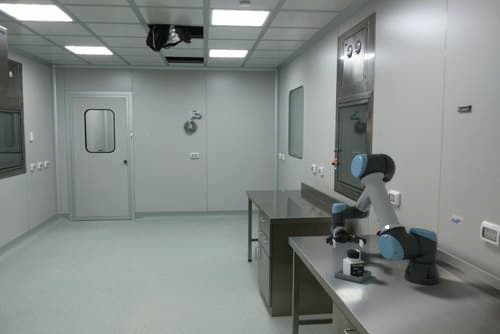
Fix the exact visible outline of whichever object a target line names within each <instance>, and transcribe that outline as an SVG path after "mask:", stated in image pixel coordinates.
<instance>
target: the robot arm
mask: <svg viewBox="0 0 500 334" xmlns="http://www.w3.org/2000/svg"><path fill="white" fill-rule="evenodd" d="M353 157H354V158H353V159H352V161H351V168H350V170H351V171H350V172H351V175H352V176H353V177H354V178H356V179H359V181H360V184H361V185H364V186H365V189H364V190H363V191H362V193H361V194H360V197H359V198H358V199H357V200H356V202H355V204H354V205H351V206H350V205H347V204H346V203H344V202H337V203H336V202H334V203H333V204H332V207H331V214H332V215H331V219H332V220H331V227H330V232H331V234H330V235H329V236H328V237H327V238H325V244H329V246H332V247H333V248H334V249H336V248H337V243H339V244H346V243H355V244H357V245H359V246H360V247H361V248H362V249H365V245H367V239H366V238H364V237H361V236H358V235H356V234H354V235H350V232H349V231H348V230H347V229H346V223H347V220H363V219H367V218H369V216H370V213H371V211H370V208H371V206H372V209H373V211H374V213H375V216H376V218H377V222H378V224H379V227H380V231H381V232H380V237H379V239H378V238H377V243H378V244H377V247H378V250H379V253H380V255H381V256H382V257H383V258H384V259H386V260H387V261H390V262H392V261H393V262H394V261H396V262H399V261H404V260H408V262H407V264H406V266H405V270H404V272H403V274H404V275H403V278H404V279H405V280H406V281H409V282H411V283H413V284H418V285H426V286H427V285H428V286H431V285H437V284H440V282H441V280H440V279H441V278H440V274H439V270H438V267H437V249H438V234H437V233H436V232H434V231H433V230H429V229H425V228H418V227H411V228H409V231H408V232H407V230H406V227H405V226H404V225H403V224H400V221H399V218H398V216H397V213H396V211H395V208H394V206H393V204H392V201H391V199H390V198H391V197H390V196H389V193H388V191H387V188H386V184H387V183H389V182H391V181H392V179H393V177H394V176H395V173H396V168H397V167H396V163H395V160H394V159H393V158H392V157H391V156H390V155H388V154H385V153H363V154H361V153H359V154H357V155H355V156H353Z"/></svg>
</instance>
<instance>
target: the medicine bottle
mask: <svg viewBox="0 0 500 334" xmlns="http://www.w3.org/2000/svg"><path fill="white" fill-rule="evenodd" d="M342 262H343V263H342V265H343V267H342V268H343V273H344V274H346V275H351V276H355V277H361V276H363V275H364V269H365V262H364V261H363V260H361V250H359V249H356V248H351V249H347V251H346V258H343V260H342Z"/></svg>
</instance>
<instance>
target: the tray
mask: <svg viewBox="0 0 500 334" xmlns="http://www.w3.org/2000/svg"><path fill="white" fill-rule="evenodd" d="M371 277H372V270H368V269H365V268H364V275H363V276H361V277H355V276H351V275H346V274H344V273H343V267H342V268H340V269H338V270H337V271H335V272H334V278H335V279H339V280H343V281H347V282H352V283H355V284H358V285H359V284H360V285H361V284H362V283H364V282H366V281H367V280H368V279H369V278H371Z"/></svg>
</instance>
